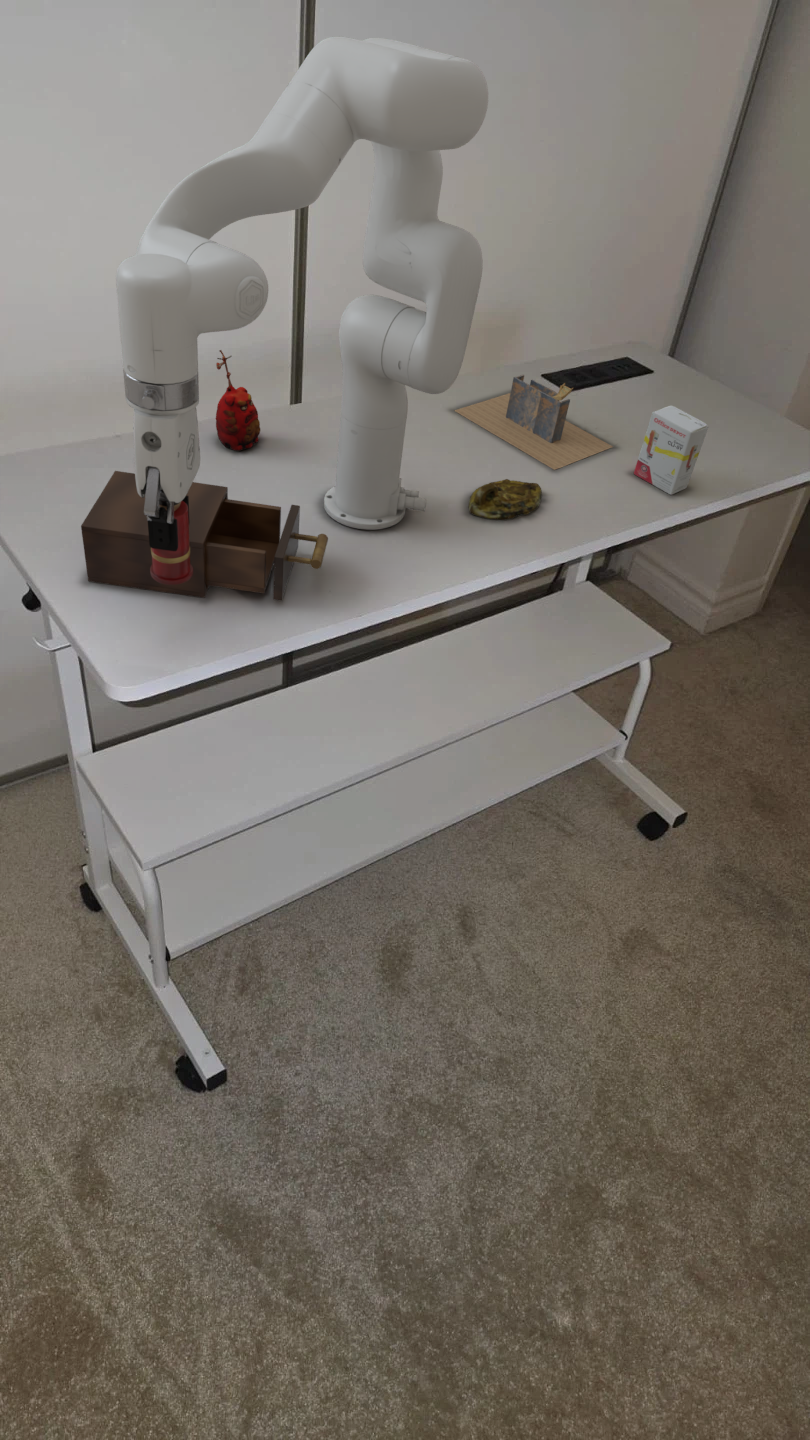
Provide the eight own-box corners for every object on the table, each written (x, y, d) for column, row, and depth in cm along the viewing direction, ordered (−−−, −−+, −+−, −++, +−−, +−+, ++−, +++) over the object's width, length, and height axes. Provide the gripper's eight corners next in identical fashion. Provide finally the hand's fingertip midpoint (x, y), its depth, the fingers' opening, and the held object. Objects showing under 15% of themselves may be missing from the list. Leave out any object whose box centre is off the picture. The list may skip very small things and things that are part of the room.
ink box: (631, 473, 168) (651, 409, 159) (648, 466, 170) (669, 403, 162) (670, 496, 163) (692, 431, 155) (687, 488, 166) (710, 424, 158)
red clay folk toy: (246, 457, 156) (246, 367, 146) (207, 446, 157) (204, 356, 147) (266, 437, 162) (267, 350, 151) (228, 427, 163) (227, 339, 153)
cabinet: (228, 539, 138) (227, 486, 133) (204, 598, 128) (203, 543, 122) (120, 524, 138) (115, 470, 132) (88, 581, 128) (80, 525, 122)
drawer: (329, 551, 138) (332, 510, 133) (315, 606, 128) (318, 563, 123) (197, 532, 137) (195, 490, 133) (173, 585, 128) (171, 542, 123)
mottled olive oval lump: (515, 483, 162) (451, 507, 154) (518, 457, 159) (454, 479, 151) (557, 503, 157) (494, 528, 149) (561, 476, 154) (497, 500, 146)
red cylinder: (197, 564, 118) (194, 477, 110) (187, 587, 114) (183, 499, 106) (156, 558, 118) (151, 471, 110) (145, 581, 114) (138, 493, 106)
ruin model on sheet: (613, 446, 174) (628, 395, 168) (554, 470, 165) (567, 416, 159) (513, 391, 186) (523, 341, 180) (453, 410, 177) (462, 358, 171)
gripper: (177, 428, 94) (183, 582, 106) (216, 359, 106) (218, 504, 119) (100, 416, 94) (116, 572, 106) (148, 349, 106) (157, 495, 118)
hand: (169, 535), depth 112 cm, fingers closed on red cylinder, 4 cm apart
